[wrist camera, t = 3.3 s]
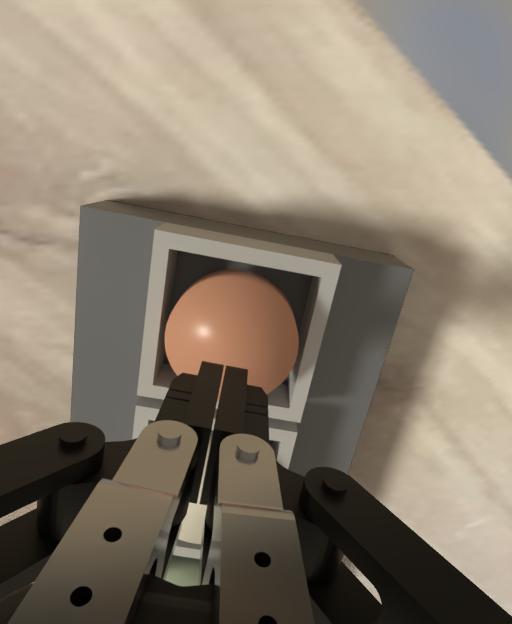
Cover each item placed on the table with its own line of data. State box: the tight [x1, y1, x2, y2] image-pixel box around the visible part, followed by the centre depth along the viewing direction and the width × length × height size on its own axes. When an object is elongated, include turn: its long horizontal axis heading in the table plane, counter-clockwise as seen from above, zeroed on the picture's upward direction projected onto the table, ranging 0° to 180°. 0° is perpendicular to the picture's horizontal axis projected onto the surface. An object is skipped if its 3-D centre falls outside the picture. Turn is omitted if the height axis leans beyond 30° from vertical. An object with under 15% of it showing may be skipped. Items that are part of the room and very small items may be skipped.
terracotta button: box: [164, 269, 299, 401], centre depth 16 cm, size 5×5×2 cm
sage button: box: [165, 555, 200, 586], centre depth 21 cm, size 5×5×2 cm
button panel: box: [70, 200, 414, 559], centre depth 21 cm, size 22×14×5 cm, turn 169°
